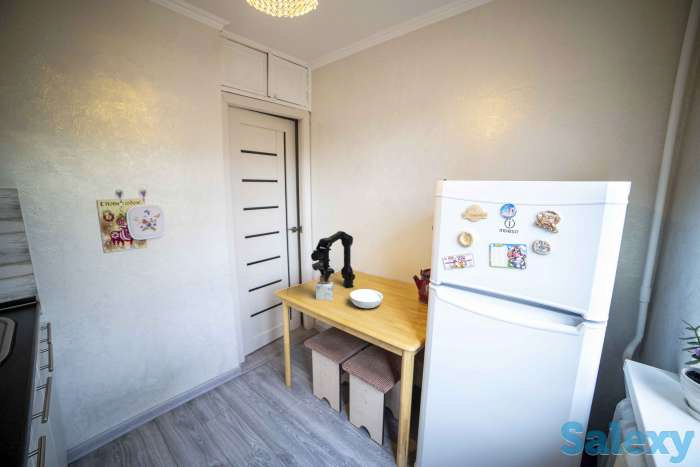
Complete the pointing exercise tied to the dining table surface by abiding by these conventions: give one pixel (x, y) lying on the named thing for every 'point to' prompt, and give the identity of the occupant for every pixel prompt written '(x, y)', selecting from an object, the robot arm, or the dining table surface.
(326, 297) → the light bulb box
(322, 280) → the walnut block
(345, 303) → the dining table surface
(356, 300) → the serving bowl
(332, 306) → the dining table surface
